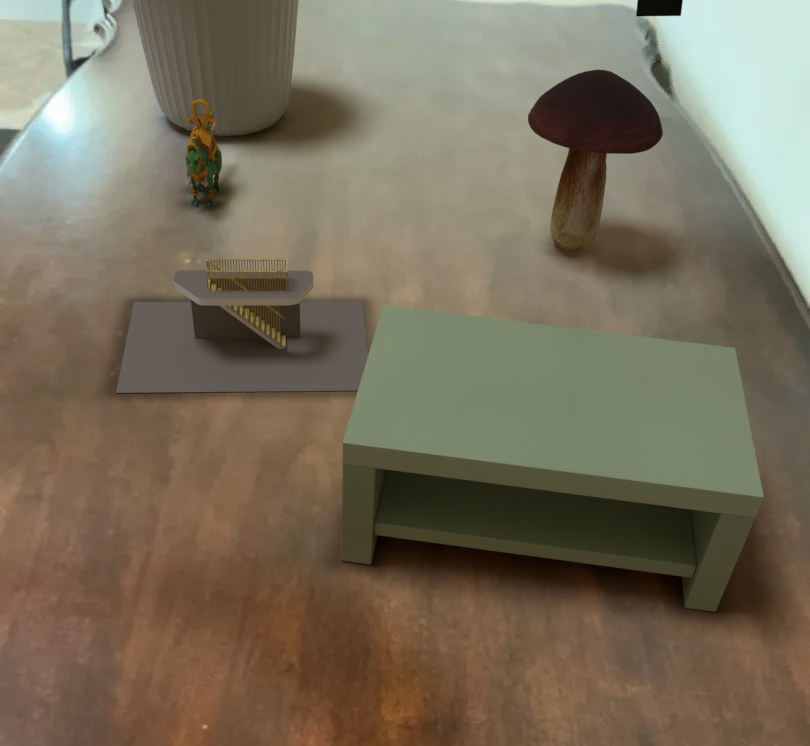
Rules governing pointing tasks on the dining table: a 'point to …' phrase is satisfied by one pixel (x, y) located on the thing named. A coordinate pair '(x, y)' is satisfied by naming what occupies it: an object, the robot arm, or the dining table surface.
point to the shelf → (552, 447)
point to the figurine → (203, 154)
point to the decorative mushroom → (590, 144)
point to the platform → (244, 336)
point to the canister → (220, 59)
